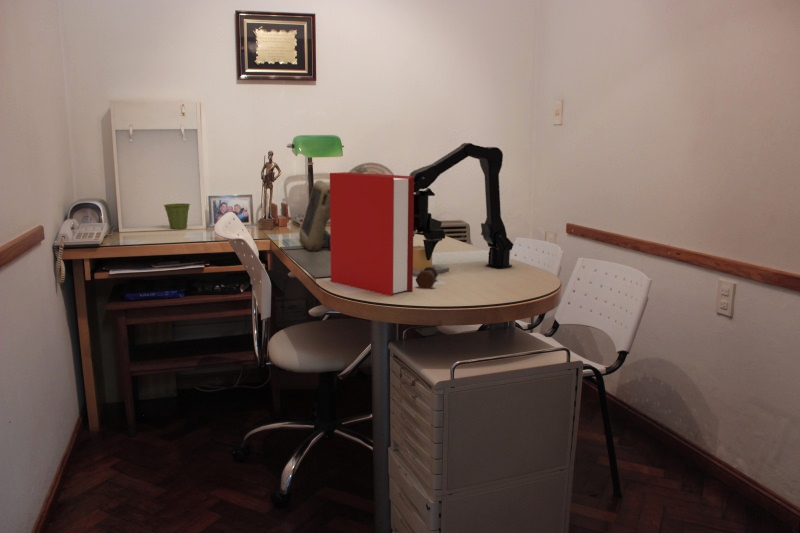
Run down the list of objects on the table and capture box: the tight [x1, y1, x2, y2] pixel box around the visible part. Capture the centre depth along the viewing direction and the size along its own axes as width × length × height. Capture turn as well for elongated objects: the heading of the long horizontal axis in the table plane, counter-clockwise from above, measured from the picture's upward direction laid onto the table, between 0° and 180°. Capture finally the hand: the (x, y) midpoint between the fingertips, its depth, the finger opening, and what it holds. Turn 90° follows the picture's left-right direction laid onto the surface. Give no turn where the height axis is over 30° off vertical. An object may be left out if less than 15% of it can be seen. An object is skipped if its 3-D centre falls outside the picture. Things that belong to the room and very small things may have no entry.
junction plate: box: [413, 264, 450, 278], centre depth 209 cm, size 14×14×5 cm
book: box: [329, 171, 415, 297], centre depth 184 cm, size 27×8×32 cm, turn 46°
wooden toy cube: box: [413, 245, 433, 270], centre depth 209 cm, size 6×6×6 cm
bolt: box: [415, 267, 439, 290], centre depth 191 cm, size 6×5×15 cm
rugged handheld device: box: [298, 180, 331, 252], centre depth 257 cm, size 33×14×25 cm, turn 19°
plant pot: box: [163, 203, 191, 230], centre depth 301 cm, size 12×12×11 cm
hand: (418, 258), depth 209 cm, fingers open, 9 cm apart
